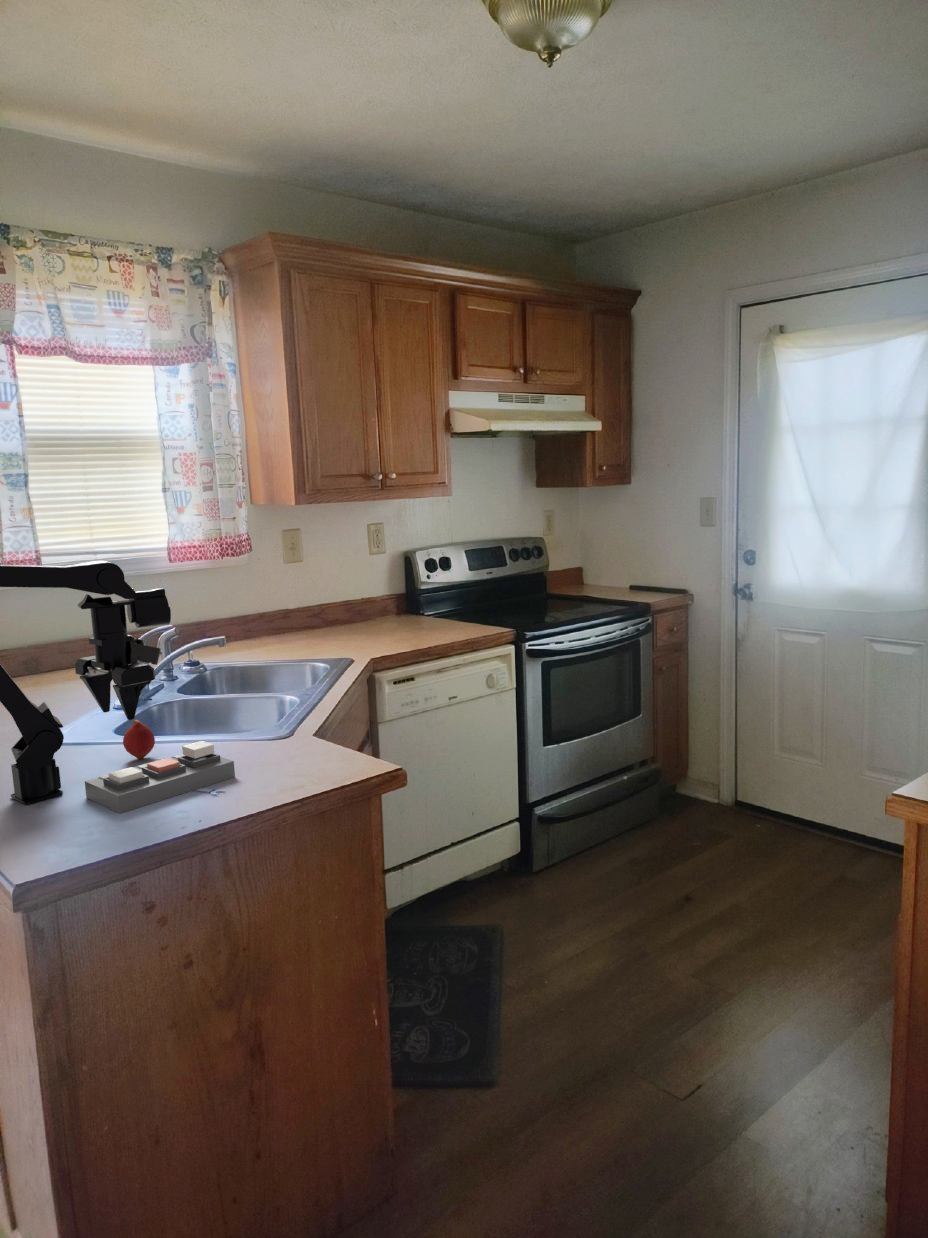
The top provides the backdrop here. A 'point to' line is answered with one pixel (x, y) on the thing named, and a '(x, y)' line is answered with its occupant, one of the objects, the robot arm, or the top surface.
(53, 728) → the robot arm
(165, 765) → the button middle
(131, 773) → the button left
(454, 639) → the top surface
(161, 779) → the button panel
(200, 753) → the button right
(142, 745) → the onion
